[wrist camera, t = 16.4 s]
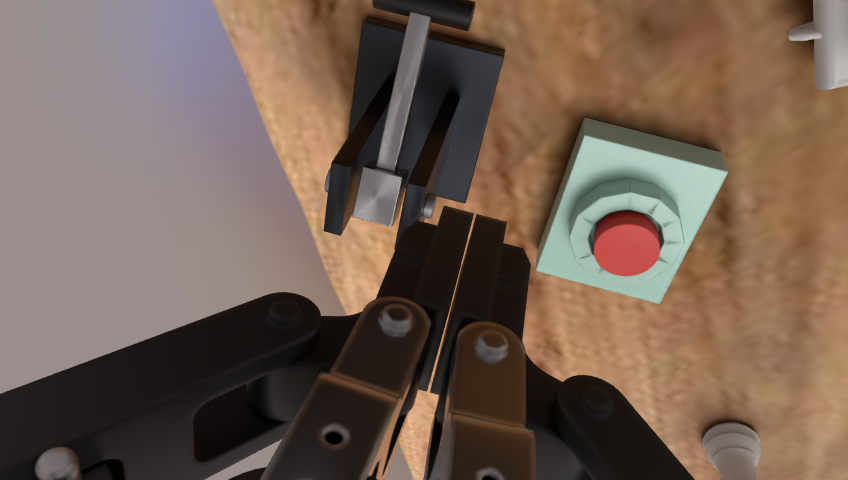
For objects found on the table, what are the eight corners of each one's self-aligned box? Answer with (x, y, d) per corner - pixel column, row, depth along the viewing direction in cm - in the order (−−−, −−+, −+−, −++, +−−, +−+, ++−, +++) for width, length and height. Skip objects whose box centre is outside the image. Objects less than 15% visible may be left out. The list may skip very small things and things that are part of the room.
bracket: (367, 15, 43) (298, 93, 33) (505, 50, 43) (479, 140, 32) (347, 164, 49) (284, 268, 39) (467, 195, 49) (435, 309, 39)
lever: (383, -20, 35) (375, -25, 33) (476, 3, 35) (474, 0, 33) (337, 201, 39) (326, 210, 36) (422, 223, 39) (416, 234, 36)
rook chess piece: (763, 451, 57) (785, 538, 51) (707, 458, 59) (722, 542, 53) (753, 415, 55) (775, 501, 49) (696, 423, 57) (710, 506, 51)
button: (605, 203, 43) (606, 216, 41) (668, 220, 42) (670, 233, 41) (585, 253, 45) (584, 267, 44) (644, 269, 45) (646, 283, 43)
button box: (584, 116, 44) (584, 148, 40) (721, 151, 43) (734, 186, 40) (537, 249, 50) (533, 286, 47) (656, 281, 50) (661, 321, 46)
